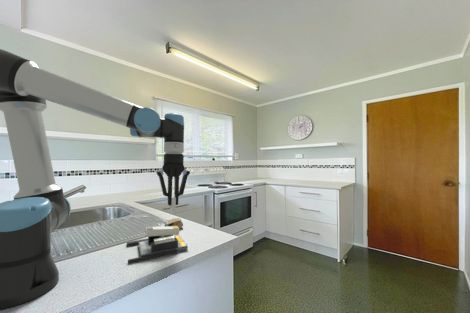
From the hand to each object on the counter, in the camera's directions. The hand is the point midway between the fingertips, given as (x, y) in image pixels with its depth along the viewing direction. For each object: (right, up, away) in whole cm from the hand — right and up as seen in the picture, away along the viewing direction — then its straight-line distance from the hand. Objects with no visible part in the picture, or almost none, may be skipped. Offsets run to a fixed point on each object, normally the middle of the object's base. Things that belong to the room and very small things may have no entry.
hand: (172, 213), depth 84 cm
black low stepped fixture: (-7, -13, -2) cm, 15 cm away
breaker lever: (-3, -7, -2) cm, 8 cm away
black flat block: (-3, -13, -2) cm, 13 cm away
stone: (-6, -13, +23) cm, 27 cm away
